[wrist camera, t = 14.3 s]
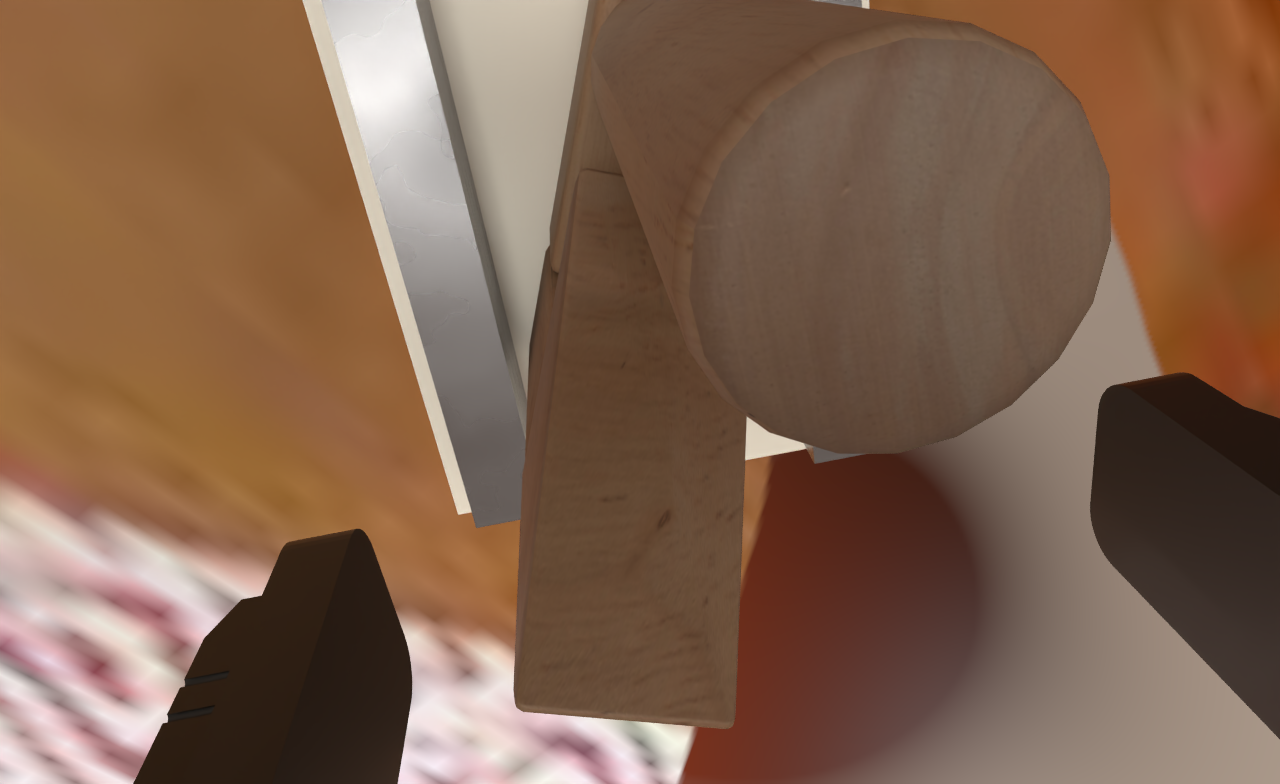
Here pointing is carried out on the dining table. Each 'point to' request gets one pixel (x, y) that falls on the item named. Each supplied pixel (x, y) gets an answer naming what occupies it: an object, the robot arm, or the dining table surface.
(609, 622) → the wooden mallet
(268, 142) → the dining table surface
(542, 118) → the slotted base
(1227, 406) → the robot arm
